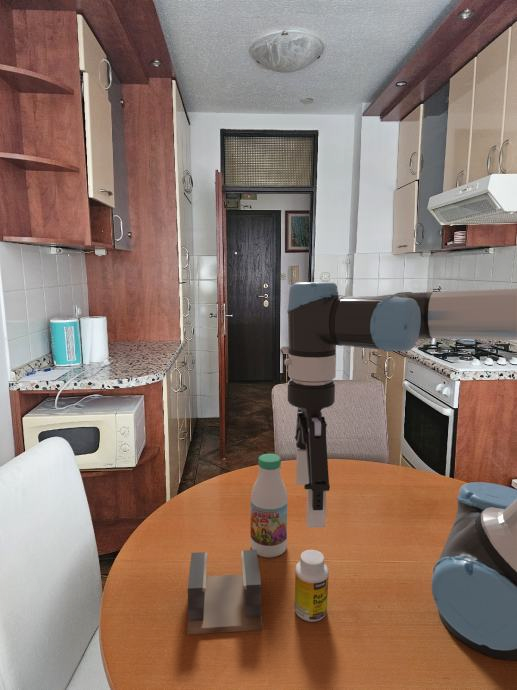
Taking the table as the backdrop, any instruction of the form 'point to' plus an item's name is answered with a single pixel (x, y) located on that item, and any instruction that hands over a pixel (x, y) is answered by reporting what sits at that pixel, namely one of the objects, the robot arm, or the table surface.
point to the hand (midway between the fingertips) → (309, 503)
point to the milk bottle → (269, 509)
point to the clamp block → (224, 597)
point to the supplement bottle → (311, 586)
